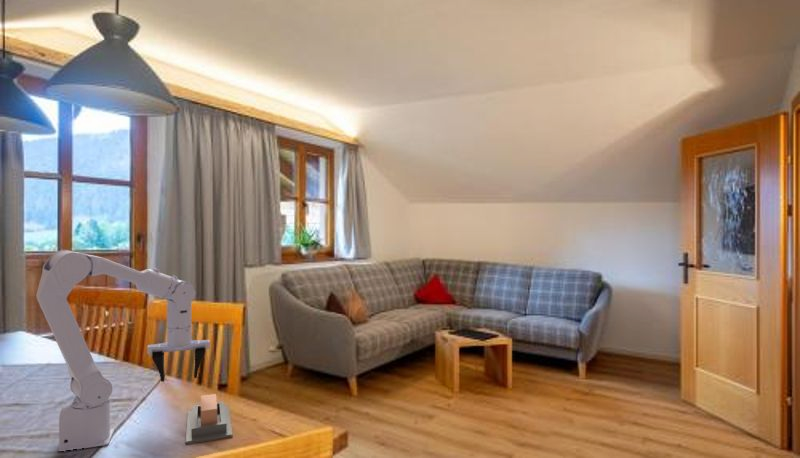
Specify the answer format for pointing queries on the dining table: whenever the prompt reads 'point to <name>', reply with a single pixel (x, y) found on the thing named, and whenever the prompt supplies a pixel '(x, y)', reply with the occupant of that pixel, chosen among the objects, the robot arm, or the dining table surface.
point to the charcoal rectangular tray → (208, 425)
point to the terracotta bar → (208, 409)
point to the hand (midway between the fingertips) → (179, 378)
